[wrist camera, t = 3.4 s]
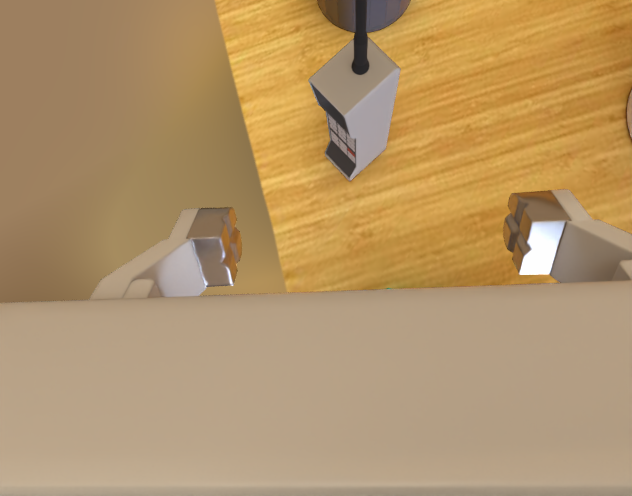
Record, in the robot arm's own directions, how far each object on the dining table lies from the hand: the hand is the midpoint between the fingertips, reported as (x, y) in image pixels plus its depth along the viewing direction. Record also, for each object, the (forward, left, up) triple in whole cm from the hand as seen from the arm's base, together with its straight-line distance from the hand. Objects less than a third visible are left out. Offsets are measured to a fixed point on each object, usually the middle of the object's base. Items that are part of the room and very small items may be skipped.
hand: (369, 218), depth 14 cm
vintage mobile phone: (+3, -12, -32) cm, 34 cm away
